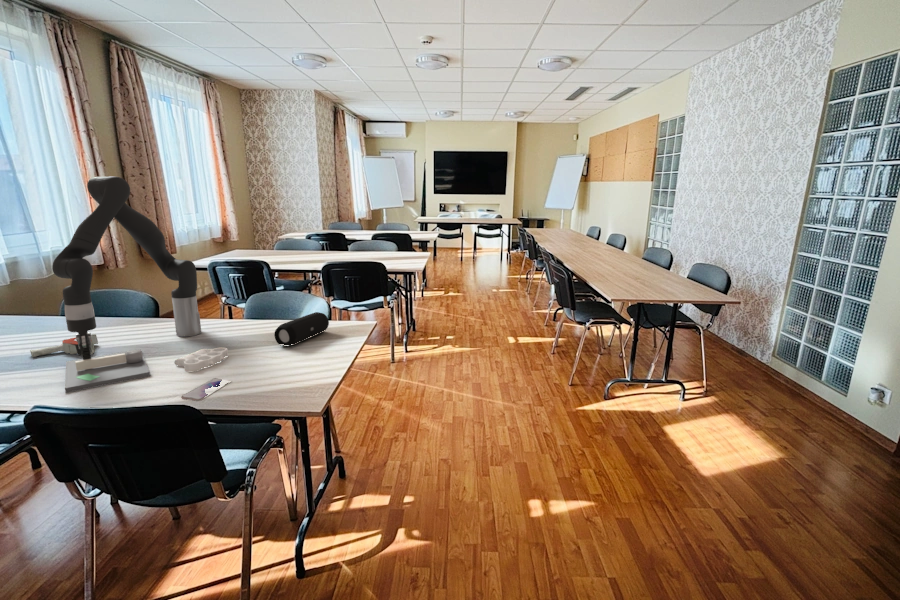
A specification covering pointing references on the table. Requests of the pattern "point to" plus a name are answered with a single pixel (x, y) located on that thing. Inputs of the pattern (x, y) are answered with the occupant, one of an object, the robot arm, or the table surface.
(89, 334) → the robot arm
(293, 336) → the portable speaker
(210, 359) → the grey paint palette
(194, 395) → the smartphone
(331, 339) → the table surface
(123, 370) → the dial plate
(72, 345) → the tape dispenser
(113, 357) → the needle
